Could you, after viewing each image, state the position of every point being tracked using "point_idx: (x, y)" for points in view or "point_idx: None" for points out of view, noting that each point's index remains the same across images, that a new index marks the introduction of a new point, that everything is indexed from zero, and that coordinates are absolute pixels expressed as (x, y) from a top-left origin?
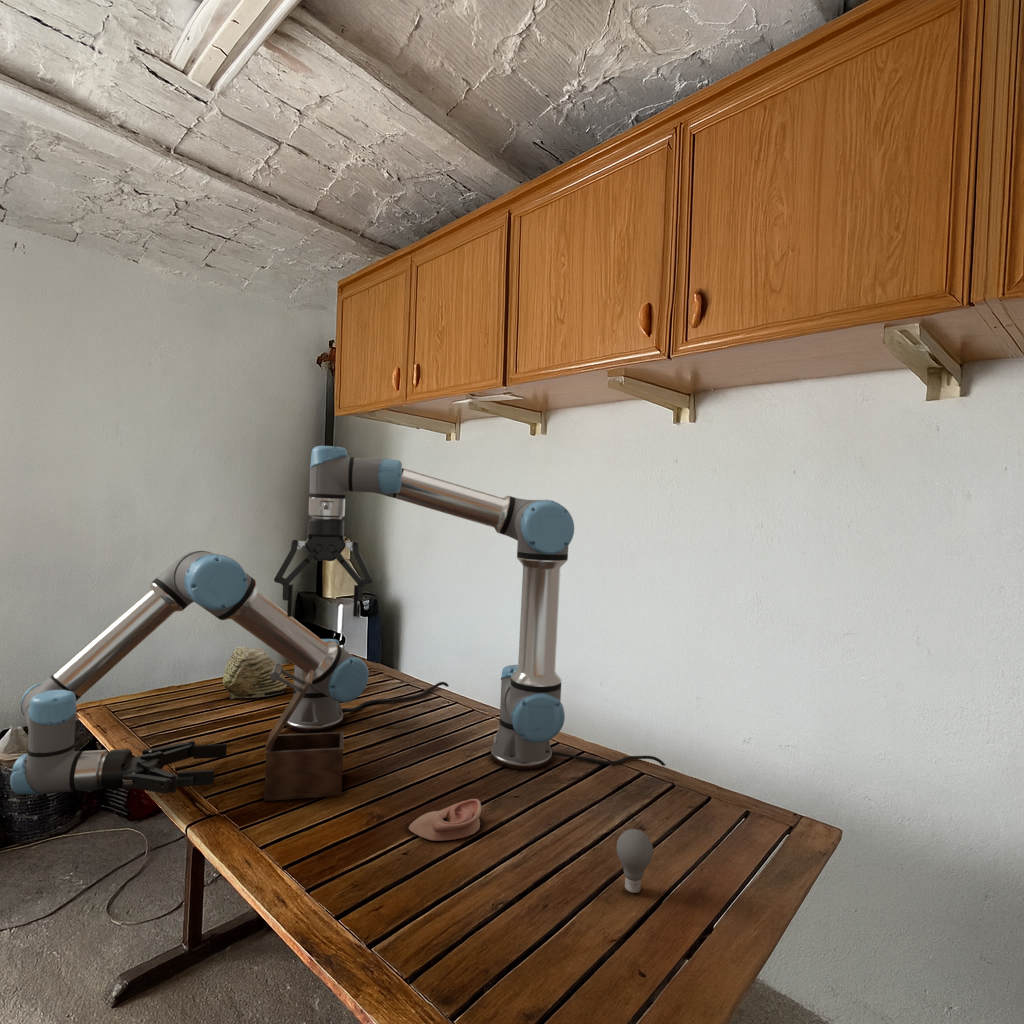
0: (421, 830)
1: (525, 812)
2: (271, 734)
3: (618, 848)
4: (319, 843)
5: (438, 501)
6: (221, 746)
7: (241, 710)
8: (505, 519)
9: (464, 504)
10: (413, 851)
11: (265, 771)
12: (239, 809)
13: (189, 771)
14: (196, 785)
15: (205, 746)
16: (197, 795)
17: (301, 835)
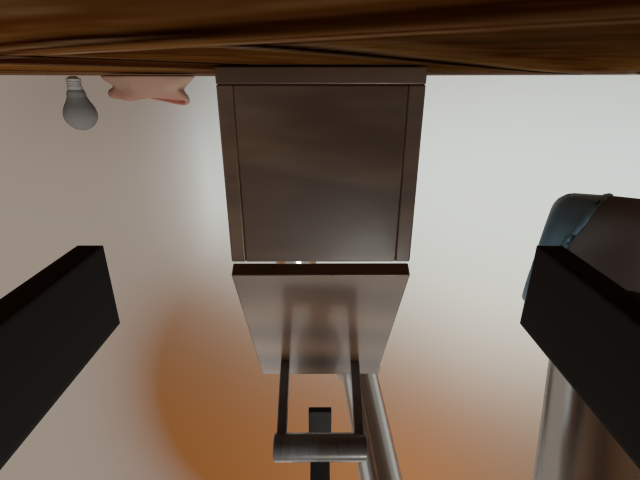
0: (116, 82)
1: (209, 74)
2: (316, 289)
3: (72, 117)
4: (4, 69)
5: None
6: (535, 333)
7: None
8: None
9: (349, 413)
10: (61, 72)
11: (227, 193)
12: (112, 60)
13: (16, 440)
14: (5, 299)
15: (606, 424)
16: (320, 36)
17: (18, 68)
